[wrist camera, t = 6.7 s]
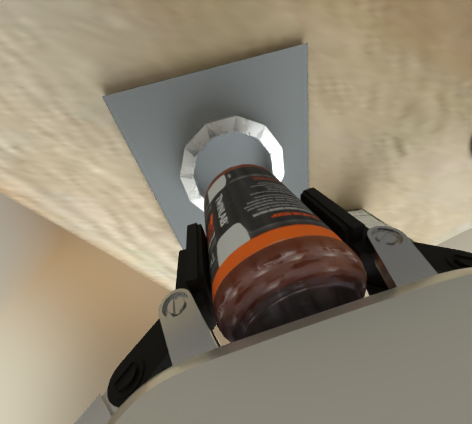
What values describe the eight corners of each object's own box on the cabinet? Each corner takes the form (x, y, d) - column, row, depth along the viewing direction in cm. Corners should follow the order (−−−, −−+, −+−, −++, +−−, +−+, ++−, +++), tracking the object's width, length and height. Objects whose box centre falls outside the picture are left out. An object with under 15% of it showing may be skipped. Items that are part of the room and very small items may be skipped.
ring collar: (270, 103, 18) (278, 104, 16) (280, 196, 23) (286, 203, 22) (166, 132, 17) (162, 135, 16) (201, 219, 23) (201, 228, 21)
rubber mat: (302, 45, 17) (307, 42, 16) (305, 209, 26) (308, 212, 26) (106, 96, 16) (102, 96, 15) (183, 245, 26) (182, 249, 25)
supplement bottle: (187, 182, 13) (169, 435, 3) (268, 147, 12) (512, 297, 3) (221, 241, 16) (264, 454, 6) (285, 214, 16) (429, 390, 6)
